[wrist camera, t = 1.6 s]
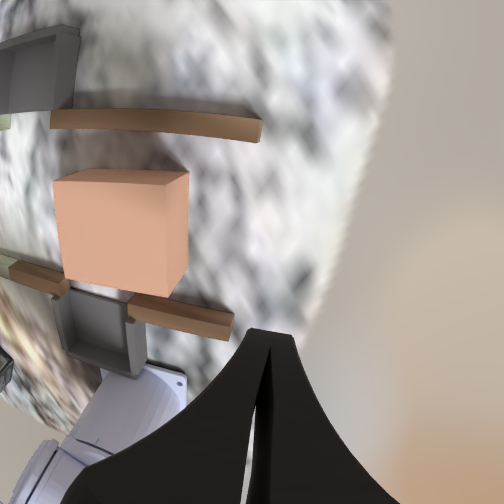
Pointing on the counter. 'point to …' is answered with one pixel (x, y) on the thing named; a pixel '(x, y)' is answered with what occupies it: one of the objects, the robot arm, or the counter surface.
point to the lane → (154, 121)
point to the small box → (5, 369)
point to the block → (124, 228)
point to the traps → (73, 301)
